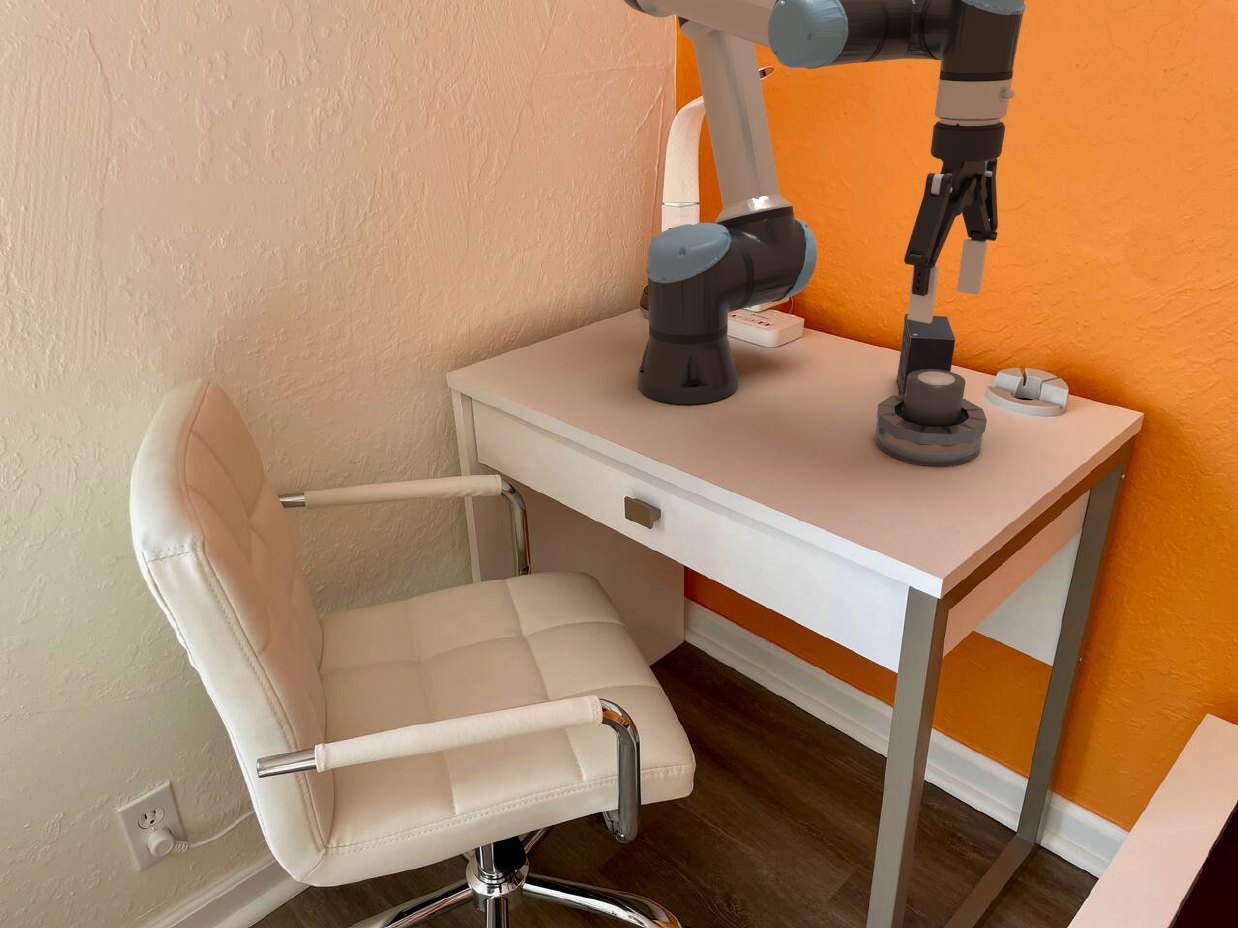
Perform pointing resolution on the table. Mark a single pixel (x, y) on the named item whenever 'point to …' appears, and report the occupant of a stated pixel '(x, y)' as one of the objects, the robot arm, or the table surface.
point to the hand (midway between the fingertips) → (944, 306)
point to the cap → (933, 398)
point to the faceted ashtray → (929, 435)
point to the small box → (925, 348)
